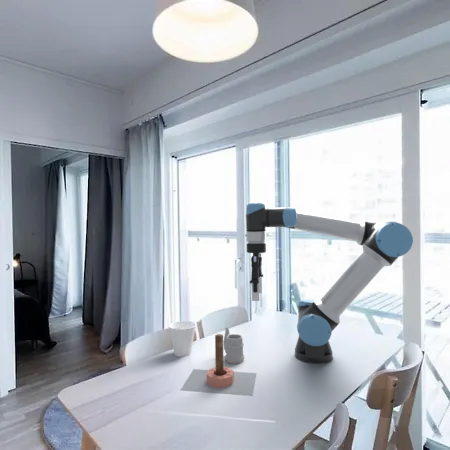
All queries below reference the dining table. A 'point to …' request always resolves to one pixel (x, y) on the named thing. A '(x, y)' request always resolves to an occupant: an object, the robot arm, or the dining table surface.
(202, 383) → the mat
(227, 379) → the bead
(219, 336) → the brown wooden bar
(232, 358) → the mug
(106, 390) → the dining table surface
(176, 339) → the cup
